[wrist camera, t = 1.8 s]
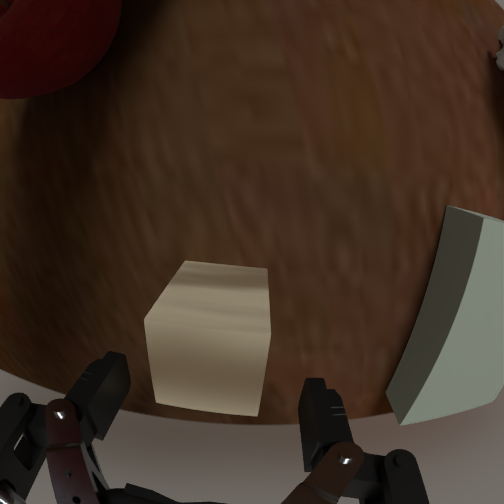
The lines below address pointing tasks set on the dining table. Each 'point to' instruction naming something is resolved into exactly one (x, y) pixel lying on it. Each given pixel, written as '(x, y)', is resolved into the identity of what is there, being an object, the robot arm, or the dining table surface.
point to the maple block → (210, 338)
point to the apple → (52, 43)
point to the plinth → (456, 325)
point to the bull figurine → (503, 54)
